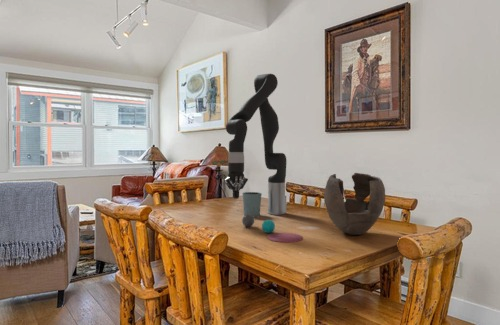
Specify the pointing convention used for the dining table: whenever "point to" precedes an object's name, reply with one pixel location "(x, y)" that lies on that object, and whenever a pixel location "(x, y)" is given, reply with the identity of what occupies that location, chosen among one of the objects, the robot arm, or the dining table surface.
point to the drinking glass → (252, 203)
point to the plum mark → (284, 237)
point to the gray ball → (248, 220)
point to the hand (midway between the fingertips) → (235, 198)
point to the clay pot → (355, 203)
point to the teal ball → (268, 226)
